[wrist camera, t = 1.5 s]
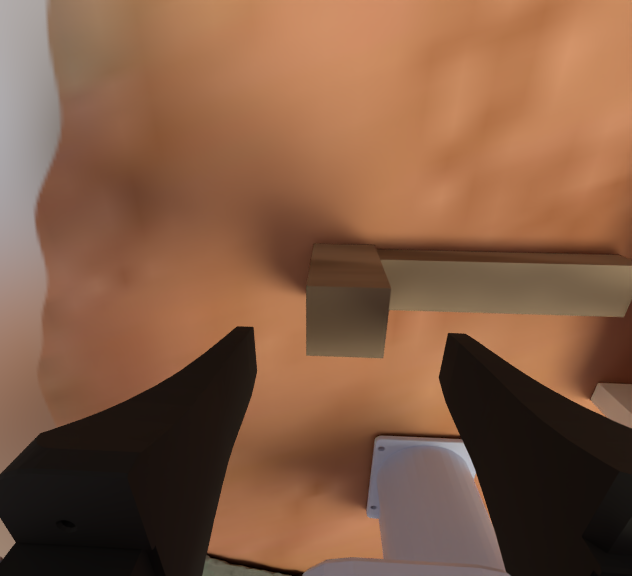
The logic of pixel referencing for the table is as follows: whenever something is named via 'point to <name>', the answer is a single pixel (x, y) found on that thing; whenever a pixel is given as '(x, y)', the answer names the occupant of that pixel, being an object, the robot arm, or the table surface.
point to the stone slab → (232, 569)
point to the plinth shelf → (614, 401)
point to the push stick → (448, 289)
